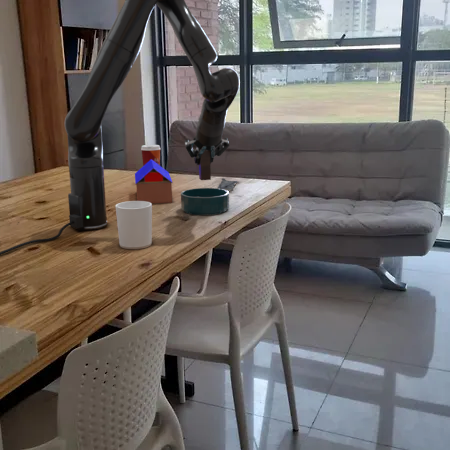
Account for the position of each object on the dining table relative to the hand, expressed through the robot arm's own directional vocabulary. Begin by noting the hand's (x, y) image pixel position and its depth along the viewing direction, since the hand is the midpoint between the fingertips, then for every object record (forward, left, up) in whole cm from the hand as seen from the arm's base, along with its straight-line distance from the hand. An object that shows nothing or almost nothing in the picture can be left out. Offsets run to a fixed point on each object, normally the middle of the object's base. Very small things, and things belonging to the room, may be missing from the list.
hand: (203, 162), depth 182 cm
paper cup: (+14, +49, -15) cm, 53 cm away
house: (-2, +25, -15) cm, 29 cm away
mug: (-37, -18, -15) cm, 44 cm away
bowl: (-1, -2, -15) cm, 15 cm away
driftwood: (+28, +20, -15) cm, 38 cm away
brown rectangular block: (-1, -2, -5) cm, 5 cm away
